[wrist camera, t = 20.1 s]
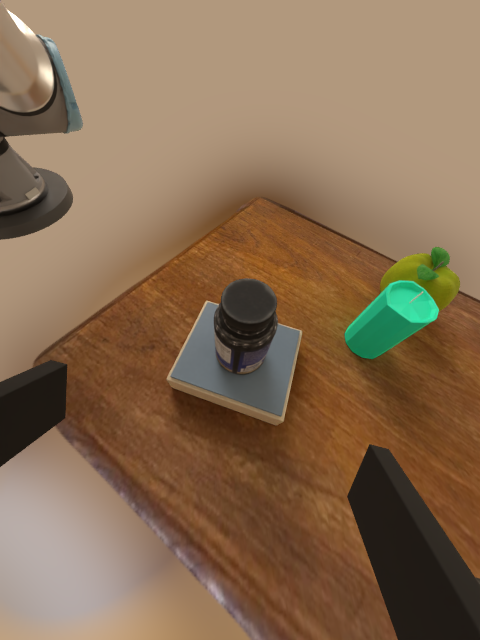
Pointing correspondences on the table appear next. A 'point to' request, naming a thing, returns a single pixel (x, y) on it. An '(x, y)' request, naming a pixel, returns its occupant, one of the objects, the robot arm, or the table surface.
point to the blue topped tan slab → (231, 389)
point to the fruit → (426, 275)
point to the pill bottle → (244, 325)
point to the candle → (391, 319)
